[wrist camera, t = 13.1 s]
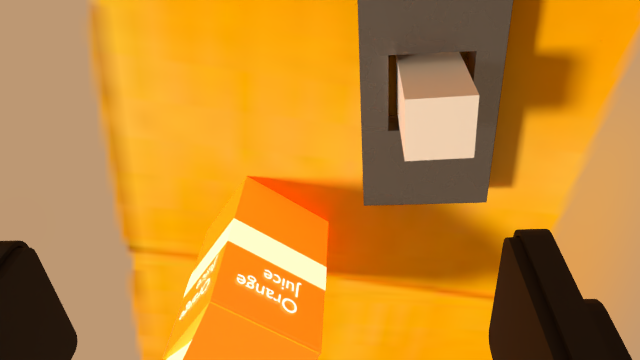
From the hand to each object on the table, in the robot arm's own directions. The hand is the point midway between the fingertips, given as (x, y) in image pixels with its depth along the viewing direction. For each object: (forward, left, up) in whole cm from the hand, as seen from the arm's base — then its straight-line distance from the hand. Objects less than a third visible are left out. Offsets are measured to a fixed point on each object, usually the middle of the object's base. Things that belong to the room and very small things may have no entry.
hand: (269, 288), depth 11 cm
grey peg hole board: (+9, +7, -30) cm, 32 cm away
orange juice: (+23, -7, -31) cm, 39 cm away
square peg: (+9, +7, -30) cm, 32 cm away
